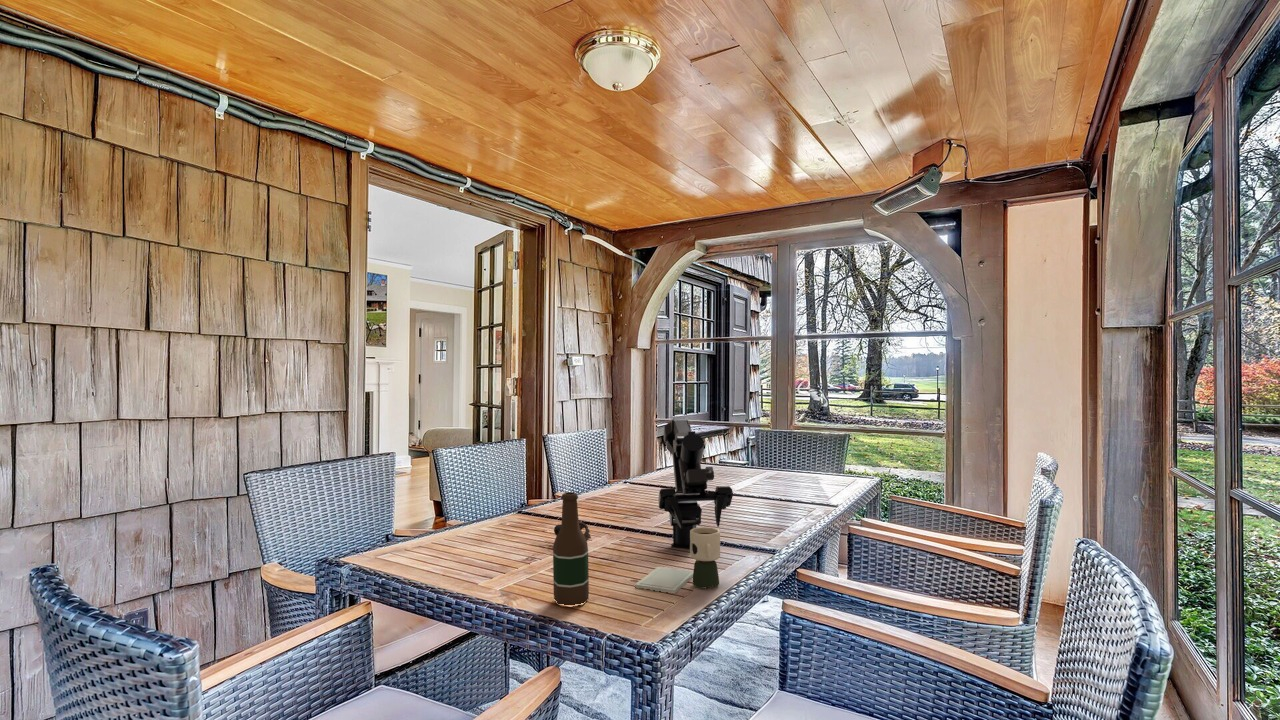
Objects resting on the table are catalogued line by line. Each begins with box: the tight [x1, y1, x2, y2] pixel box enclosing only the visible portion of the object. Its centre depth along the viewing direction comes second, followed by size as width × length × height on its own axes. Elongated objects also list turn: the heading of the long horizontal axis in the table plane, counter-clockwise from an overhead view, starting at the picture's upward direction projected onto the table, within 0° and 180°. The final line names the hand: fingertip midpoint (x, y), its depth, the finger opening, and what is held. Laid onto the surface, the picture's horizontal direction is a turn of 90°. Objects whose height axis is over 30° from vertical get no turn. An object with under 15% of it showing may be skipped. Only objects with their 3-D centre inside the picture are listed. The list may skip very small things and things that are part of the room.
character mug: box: [689, 526, 721, 589], centre depth 140 cm, size 11×7×13 cm, turn 2°
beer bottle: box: [552, 491, 590, 605], centre depth 132 cm, size 8×8×24 cm
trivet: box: [634, 566, 694, 594], centre depth 144 cm, size 10×14×1 cm
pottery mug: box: [553, 521, 592, 542], centre depth 175 cm, size 12×10×8 cm
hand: (700, 526), depth 146 cm, fingers open, 9 cm apart
